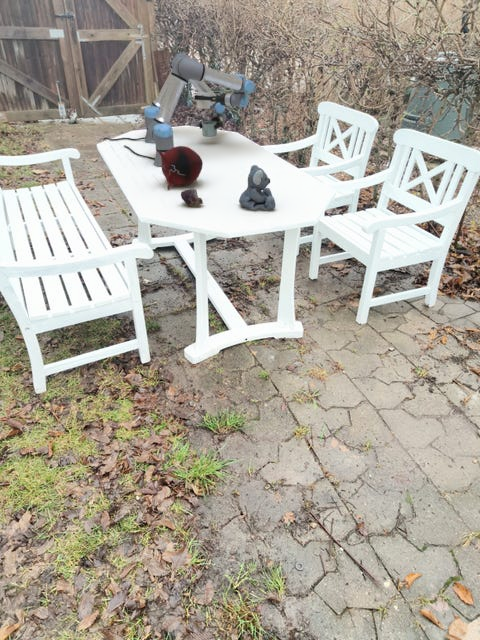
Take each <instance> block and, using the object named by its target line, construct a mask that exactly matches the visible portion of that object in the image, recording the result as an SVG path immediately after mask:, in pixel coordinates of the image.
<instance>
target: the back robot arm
mask: <svg viewBox="0 0 480 640" xmlns="http://www.w3.org/2000/svg"><path fill="white" fill-rule="evenodd" d="M179 56H186V57H189V55H188V54H186V53H185V52H179V53H178V54H176V55H175V56H174V58H173V61H174V60H175V59H176V58H177V57H179ZM172 64H173V62H172V63H171V65H170V72H169V73H168V76H167V77H166V80H165V81H164V84H163V85H162V88H161V90H160V91H159V93H158V95H157V97H156V98H155V99H154V100H153V101H152V102H151V104H150V106H147V107H145V108H144V112H143V114H144V120H145V121H144V122H145V128H146V133H145V137H139V138H131V137H119V138H110V137H103V139H102V141H105V140H109V141H120V140H130V141H140V140H145V142H146V143H149V144H155V141H153V140H152V139H151V138H150V136H149V134H148V127H149V125H150V124H151V123H152V122H153V120H154V117H157V116H158V113H159V111H160V108H161V106H162V103H163V100H164V98H165V95H166V92H167V90H168V87H169V85H170V82H171V79H172V78H171V72H172ZM188 83H190V84H191V85H192V87H194V89H195V90H196V91H197V92H208V93H211V97H212V96H217V95H216V93H214V91H212V89H211V88H210V87H209V86H208V85H207V83H206V81H204V80H202V81H198V80H193V79H189V81H188ZM210 107H212V108H213V110H214V116H213V117H211V118H210V119H209V121H214V122H217V124H216V125H215V129H217V130H218V129H219V128H223V127H224V124H225V122H226V121H227V115H226V106H224V105H221V104H220V102H210ZM205 121H208V120H204V121H200V122H199V123H198V125H199V130H200V129H201V130H202V122H205Z"/></svg>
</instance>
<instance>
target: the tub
mask: <svg viewBox="0 0 480 640" xmlns="http://www.w3.org/2000/svg"><path fill="white" fill-rule="evenodd" d="M204 121H205V122H203V121H201V122H202V128H201V135H202V137H205V138H214V137H217V136H218V128H217V129H215V125H216V124H217V122H214V121H210V120H207V121H206V120H204Z"/></svg>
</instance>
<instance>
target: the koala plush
mask: <svg viewBox="0 0 480 640" xmlns="http://www.w3.org/2000/svg"><path fill="white" fill-rule="evenodd" d="M270 183H271V178H269V176H268V175H267V173H266V172H265V170H264V169H263V168H261V167H259V165H257V164H253V165H250V170H249V173H248V176H247V188H246V189H245V190H244V191H243V192H242V193H241V194H240V197H239V199H238V203H239V204H240V206H241V207H242V208H246V209H247V210H252V211H255V210H261V211H272V210H274V209H275V208H276V200H275V198H274V196H273V194H272V191H271V188H270V187H268V186H269V185H270Z"/></svg>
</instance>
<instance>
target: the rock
mask: <svg viewBox="0 0 480 640" xmlns="http://www.w3.org/2000/svg"><path fill="white" fill-rule="evenodd" d="M180 197H181V200H182V201H183V202H184V203H185V205H187V206H189V207H191V206H192V207H193V206H201V205H203V204H204V202H203V199H202V197H199V195H198V190H197V189H196V188H188V189H185V190H181V192H180Z"/></svg>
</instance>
